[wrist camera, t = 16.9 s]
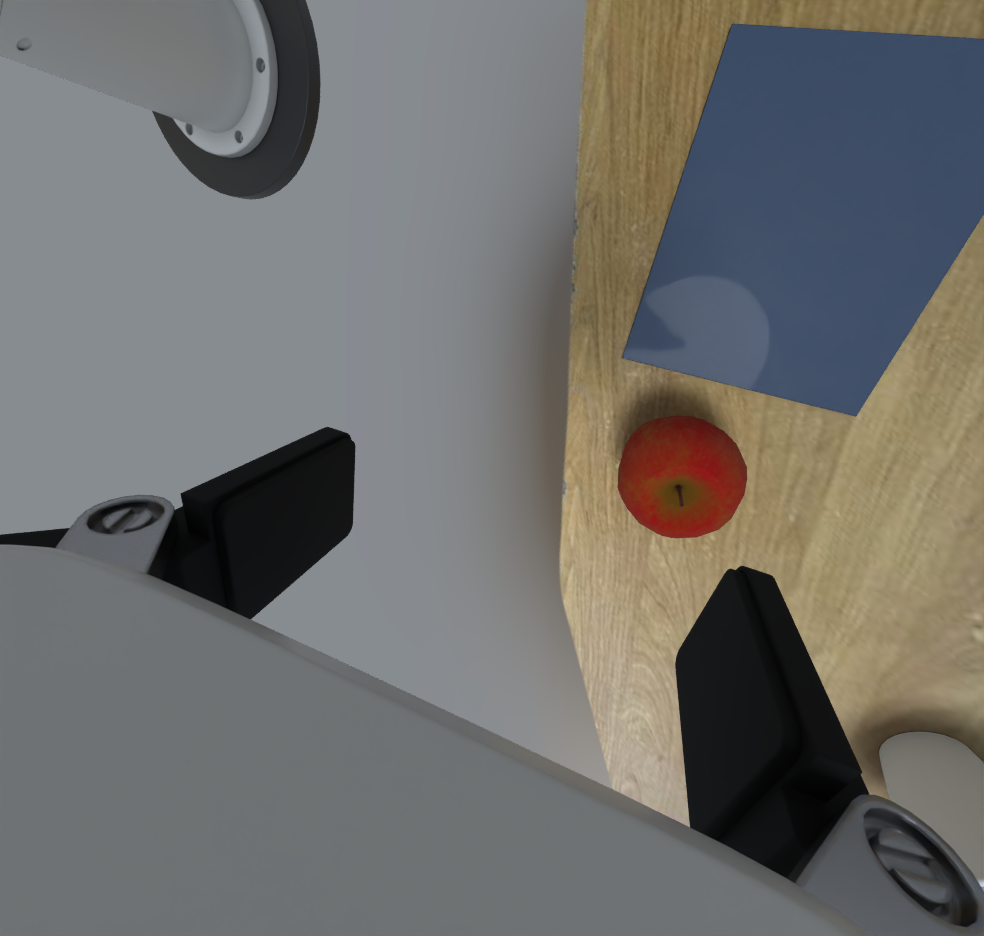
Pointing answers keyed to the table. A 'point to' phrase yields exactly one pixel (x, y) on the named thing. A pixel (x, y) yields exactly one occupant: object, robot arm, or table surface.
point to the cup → (939, 789)
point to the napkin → (816, 210)
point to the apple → (681, 476)
